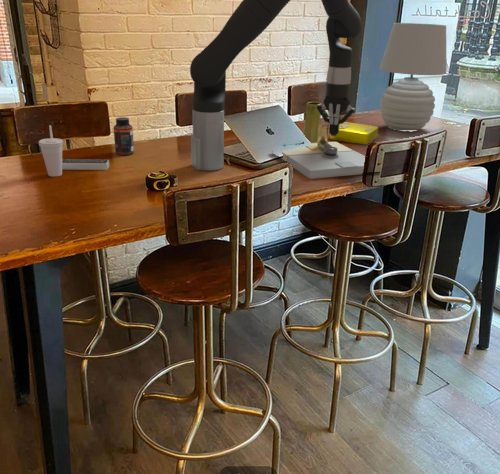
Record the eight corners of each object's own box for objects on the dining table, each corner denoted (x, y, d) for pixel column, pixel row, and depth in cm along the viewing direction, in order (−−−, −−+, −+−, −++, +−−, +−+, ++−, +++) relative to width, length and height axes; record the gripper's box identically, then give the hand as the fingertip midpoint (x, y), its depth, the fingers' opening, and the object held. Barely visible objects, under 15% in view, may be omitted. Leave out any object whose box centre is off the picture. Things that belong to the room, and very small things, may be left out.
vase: (318, 145, 185) (322, 105, 179) (301, 144, 186) (304, 104, 180) (320, 141, 191) (323, 102, 185) (303, 140, 192) (306, 101, 186)
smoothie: (53, 179, 143) (46, 129, 138) (38, 175, 146) (31, 125, 141) (71, 173, 148) (66, 124, 143) (56, 169, 151) (50, 121, 146)
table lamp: (386, 119, 230) (400, 22, 213) (443, 129, 217) (463, 25, 200) (361, 129, 211) (374, 23, 194) (423, 140, 198) (442, 27, 181)
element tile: (366, 146, 189) (368, 132, 187) (328, 140, 195) (329, 127, 193) (378, 137, 201) (380, 125, 199) (341, 132, 207) (342, 120, 205)
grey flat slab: (310, 179, 151) (311, 169, 149) (272, 153, 175) (272, 144, 173) (381, 172, 159) (382, 163, 157) (335, 148, 183) (336, 140, 181)
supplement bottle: (138, 153, 169) (135, 118, 165) (122, 156, 165) (119, 121, 161) (127, 149, 173) (124, 115, 168) (111, 153, 169) (109, 118, 164)
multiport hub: (107, 171, 153) (106, 163, 152) (56, 170, 152) (55, 163, 151) (109, 166, 157) (109, 159, 156) (60, 166, 156) (59, 158, 155)
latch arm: (338, 155, 163) (340, 133, 160) (326, 155, 162) (328, 133, 159) (326, 144, 175) (328, 123, 172) (314, 144, 174) (316, 123, 171)
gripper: (361, 81, 166) (355, 135, 173) (322, 78, 171) (318, 130, 178) (356, 84, 160) (350, 140, 167) (314, 81, 164) (310, 135, 172)
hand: (333, 135), depth 172 cm, fingers closed
